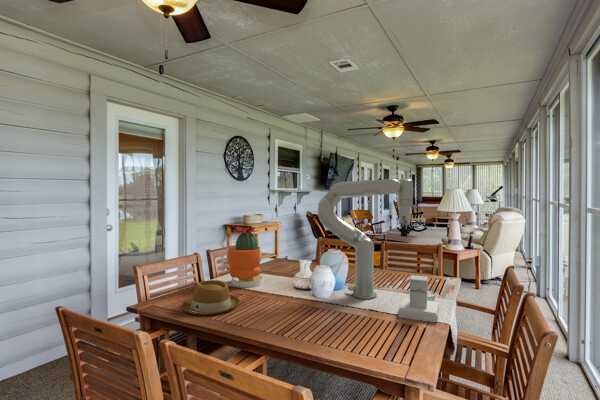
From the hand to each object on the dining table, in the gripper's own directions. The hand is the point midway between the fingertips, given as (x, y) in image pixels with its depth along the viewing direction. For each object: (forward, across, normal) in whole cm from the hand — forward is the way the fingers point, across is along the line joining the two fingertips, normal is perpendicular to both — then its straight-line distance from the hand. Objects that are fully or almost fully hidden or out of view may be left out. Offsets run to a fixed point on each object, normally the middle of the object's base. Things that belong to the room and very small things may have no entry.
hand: (405, 235), depth 176 cm
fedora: (+33, +52, -86) cm, 106 cm away
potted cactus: (+32, +14, -92) cm, 99 cm away
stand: (+32, +23, +9) cm, 41 cm away
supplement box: (+28, +23, +9) cm, 38 cm away
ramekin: (+33, +8, +10) cm, 35 cm away
